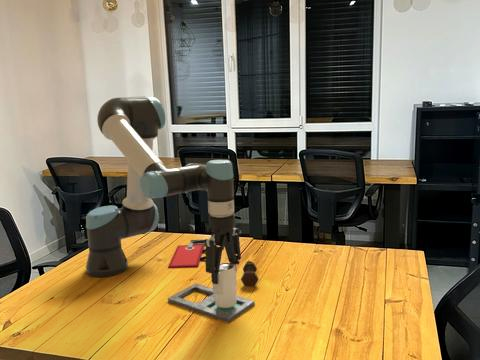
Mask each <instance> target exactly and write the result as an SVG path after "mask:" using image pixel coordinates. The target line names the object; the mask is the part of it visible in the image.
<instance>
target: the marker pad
mask: <svg viewBox="0 0 480 360" xmlns="http://www.w3.org/2000/svg"><path fill="white" fill-rule="evenodd" d="M239 306H241V304H238V303H236V304H235V306H233V307H231V308H219V307H217V306H216V304H215V305H214V306H212V307H210V308H212V309H215V310H218V311H221V312H224V313H227V314H229V313H230V312H232V311H233V310H235V309H236V308H238V307H239Z"/></svg>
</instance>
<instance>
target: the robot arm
mask: <svg viewBox="0 0 480 360" xmlns="http://www.w3.org/2000/svg"><path fill="white" fill-rule="evenodd" d="M96 121H97V126H98V129H99V131H100V132H101V134H102V135H103V137H104V138H105V139H107V140H108V141H109V140H110V141H112V143H113V144H114V145H115V146H116V148H117V149H118V150H119V151H120V152H121V153H122V155H123V156H124V157H125V159H126V160H127V181H126V182H127V183H126V197H125V198H124V199H123V200H122V207H119V208H118V206H116V205H111V204H110V205H104V206H99V207H96V208H94V209H92V210H90V211H89V212H88V213H87V214H86V216H85V222H86V223H85V228H86V233H87V244H88V256H87V260H86V265H85V272H86V274H87V276H90V277H92V278H93V277H95V278H107V277H112V276H115V275H119V274H122V273H123V272H125V271H127V269H128V268H129V263H128V262H129V261H128V258H127V257H126V255H125V252H124V250H123V247H122V240H125V239H128V238H131V237H135V236H139V235H140V236H141V235H145V234H148V233H150V232H151V233H152V232H153V231H154V230H155V229H156V228H157V226H158V224H159V220H160V214H159V209H158V206H157V205H156V203H154V200H153V199H161V198H164V197H169V196H174V195H178V194H184V193H189V192H194V191H205V192H207V210H208V211H207V212H208V214H209V215H208V227H209V228H210V230H211V235H210V237H209V238H204V240H205V241H204V242H205V245H204V247H205V249H206V252H205V256H206V259H205V272H206V273H208V274H210V275H211V283H212V288H213V293H217V294H220V295H221V294H222V284H221V273H220V272H219V268H220V263H222V262H221V261H222V255H223V251H224V250H225V252H226V257H227V259H228V260H227V261H228V263H231V264H233V265H234V269H235V274H236V275H237V265H239V264H240V260H241V259H242V255H241V243H240V242H241V241H240V228H236V227H235V226H236V215H235V190H234V185H235V184H234V170H233V169H234V167H233V163H232V161H231V160H229V159H213V160H212V159H211V160H209V161H206V164H202V163H198V162H196V163H188V164H185V166H180V167H174V168H168V166H167V165H165V163H163V162H162V160H161V159H160V158H159V157H158V156H157V154H156V153H155V152H154V151H153V148H154V147H153V146H154V140H155V139H156V138H157V137H158V135H159V133H158V132H159V130H161V129H163V128H164V126H165V124H166V112H165V107H164V106H163V104H162V103H161V101H160V100H159V99H158V98H156V97H155V96H145V95H144V96H129V97H112V98H111V99H109V100H107V101H106V102H104V103H103V104H102V105H101V106H100V109H99V110H98V113H97V120H96ZM236 286H237V282H236Z"/></svg>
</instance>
